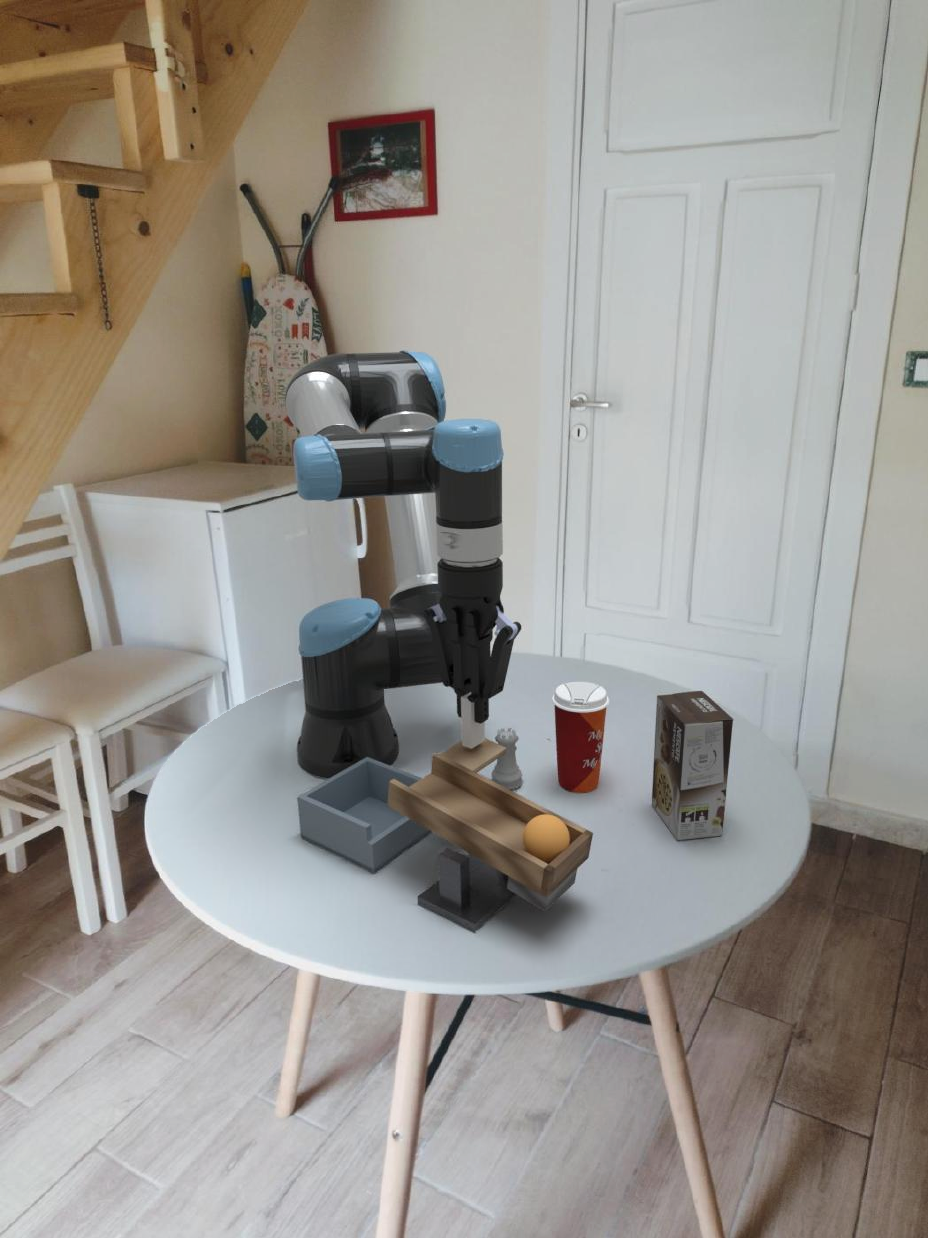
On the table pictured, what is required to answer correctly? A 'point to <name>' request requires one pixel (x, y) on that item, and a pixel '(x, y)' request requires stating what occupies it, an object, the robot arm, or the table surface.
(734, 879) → the table surface
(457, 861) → the stand
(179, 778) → the table surface
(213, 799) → the table surface
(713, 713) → the coffee box
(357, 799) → the bin
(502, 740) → the rook chess piece
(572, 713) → the paper cup
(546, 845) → the ball
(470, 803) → the chute
